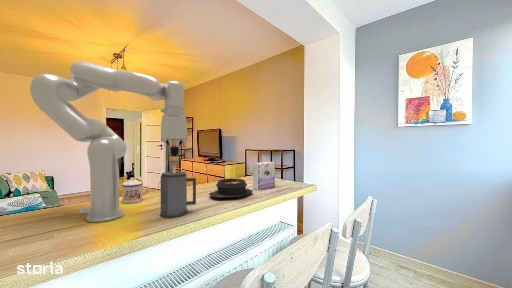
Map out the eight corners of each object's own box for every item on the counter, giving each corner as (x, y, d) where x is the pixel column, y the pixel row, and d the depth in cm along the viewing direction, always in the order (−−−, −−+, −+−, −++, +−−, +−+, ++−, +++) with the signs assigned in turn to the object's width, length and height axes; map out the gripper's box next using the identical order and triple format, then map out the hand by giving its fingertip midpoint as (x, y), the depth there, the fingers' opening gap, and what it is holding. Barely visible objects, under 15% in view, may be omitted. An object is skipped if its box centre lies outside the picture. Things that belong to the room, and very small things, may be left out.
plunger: (163, 208, 91) (163, 157, 90) (165, 202, 98) (165, 155, 97) (183, 206, 93) (183, 157, 92) (184, 201, 100) (184, 155, 99)
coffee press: (158, 218, 89) (158, 175, 88) (162, 210, 99) (162, 171, 99) (195, 216, 93) (196, 174, 92) (195, 207, 103) (195, 170, 102)
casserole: (241, 189, 140) (241, 176, 140) (259, 196, 125) (260, 181, 125) (203, 195, 125) (203, 180, 125) (219, 203, 110) (219, 186, 110)
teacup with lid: (122, 205, 106) (121, 180, 106) (121, 200, 114) (121, 177, 114) (150, 201, 113) (150, 178, 112) (147, 197, 120) (147, 175, 120)
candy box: (269, 186, 151) (269, 161, 151) (275, 187, 147) (275, 162, 146) (252, 188, 143) (252, 162, 142) (258, 190, 138) (258, 163, 137)
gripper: (153, 110, 89) (153, 157, 89) (192, 112, 93) (193, 156, 93) (156, 112, 96) (156, 156, 96) (193, 113, 100) (193, 155, 100)
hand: (174, 156), depth 95 cm, fingers closed
